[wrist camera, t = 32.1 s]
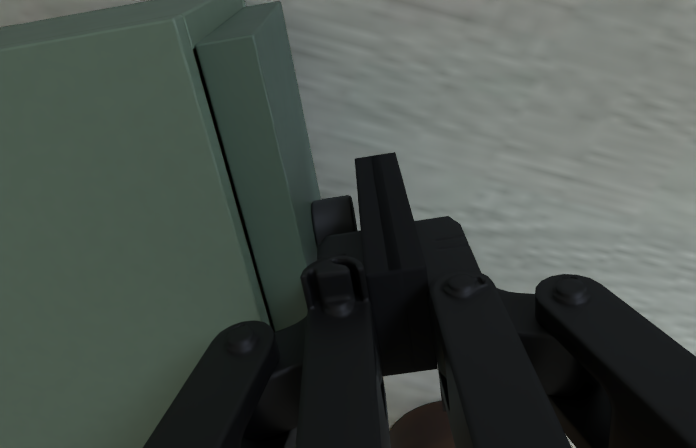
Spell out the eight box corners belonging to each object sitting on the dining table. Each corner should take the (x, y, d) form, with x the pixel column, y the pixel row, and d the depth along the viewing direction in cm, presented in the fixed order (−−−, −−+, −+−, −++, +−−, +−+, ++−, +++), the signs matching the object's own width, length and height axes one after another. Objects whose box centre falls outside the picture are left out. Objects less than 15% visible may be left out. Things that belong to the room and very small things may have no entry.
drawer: (319, -7, 17) (314, 23, 11) (375, 316, 22) (391, 454, 16) (-138, 74, 17) (-382, 145, 11) (26, 368, 23) (-79, 518, 17)
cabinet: (241, -16, 17) (173, 18, 10) (319, 324, 23) (314, 504, 16) (-193, 61, 18) (-564, 148, 10) (-7, 372, 24) (-158, 567, 17)
